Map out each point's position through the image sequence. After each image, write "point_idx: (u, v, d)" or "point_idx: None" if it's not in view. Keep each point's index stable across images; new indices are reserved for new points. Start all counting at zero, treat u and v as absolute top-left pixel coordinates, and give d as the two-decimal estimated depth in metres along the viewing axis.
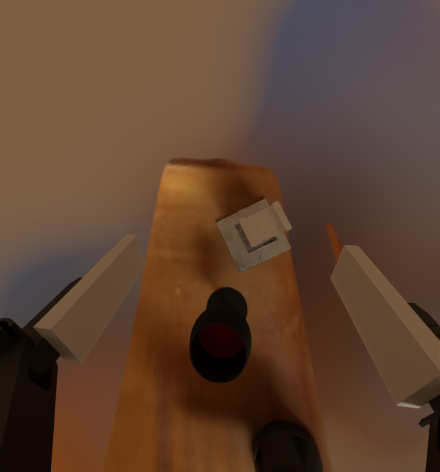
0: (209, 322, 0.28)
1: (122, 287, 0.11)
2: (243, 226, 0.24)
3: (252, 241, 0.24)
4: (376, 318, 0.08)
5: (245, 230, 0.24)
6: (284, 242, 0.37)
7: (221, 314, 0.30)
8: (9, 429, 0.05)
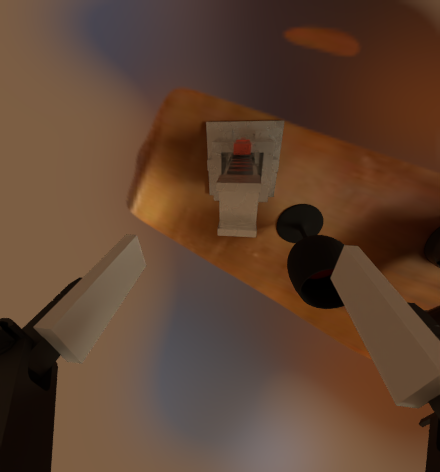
0: (300, 282, 0.28)
1: (122, 287, 0.11)
2: (227, 234, 0.19)
3: (249, 233, 0.19)
4: (376, 318, 0.08)
5: (233, 234, 0.19)
6: (272, 144, 0.27)
7: (300, 266, 0.28)
8: (9, 429, 0.05)
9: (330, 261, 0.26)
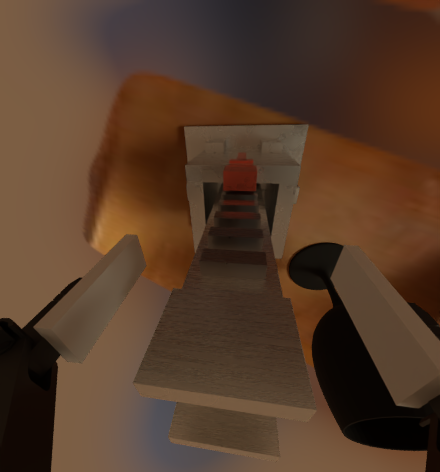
0: (345, 418, 0.15)
1: (122, 287, 0.11)
2: (197, 446, 0.07)
3: (259, 456, 0.07)
4: (376, 318, 0.08)
5: (213, 449, 0.07)
6: (295, 171, 0.15)
7: (344, 384, 0.16)
8: (9, 429, 0.05)
9: None
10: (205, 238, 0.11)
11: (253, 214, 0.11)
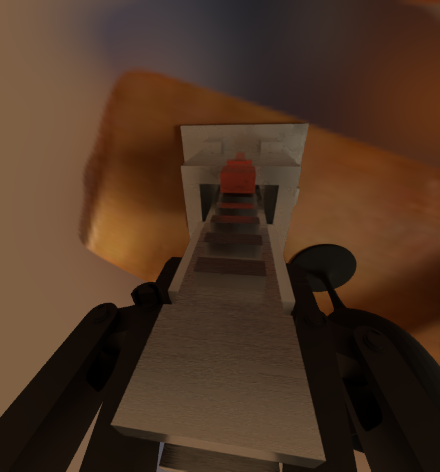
0: None
1: None
2: None
3: None
4: None
5: None
6: (296, 172, 0.14)
7: None
8: None
9: None
10: (201, 244, 0.10)
11: (252, 218, 0.11)
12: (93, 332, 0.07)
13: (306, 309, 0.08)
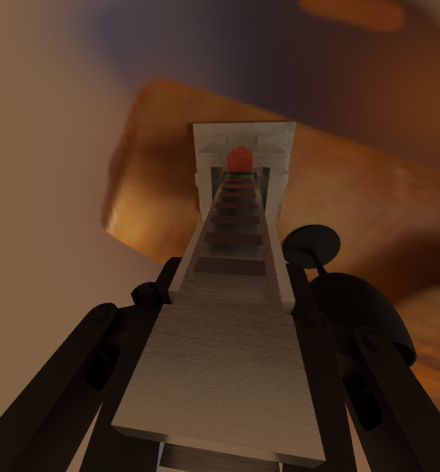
0: None
1: None
2: None
3: None
4: None
5: None
6: (283, 157, 0.19)
7: None
8: None
9: None
10: (201, 244, 0.10)
11: (251, 218, 0.11)
12: (93, 332, 0.07)
13: (306, 309, 0.08)
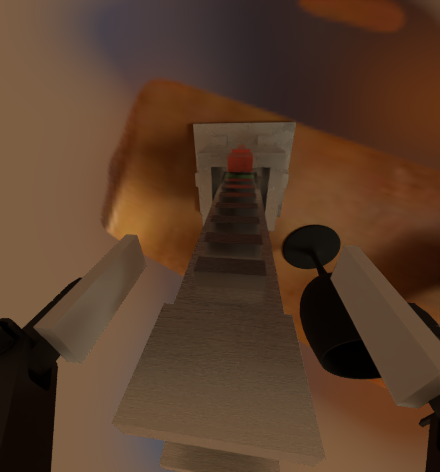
0: (321, 349, 0.20)
1: (122, 287, 0.11)
2: None
3: None
4: (376, 318, 0.08)
5: None
6: (283, 157, 0.19)
7: (321, 324, 0.20)
8: (9, 429, 0.05)
9: None
10: (201, 244, 0.10)
11: (252, 218, 0.11)
12: None
13: None
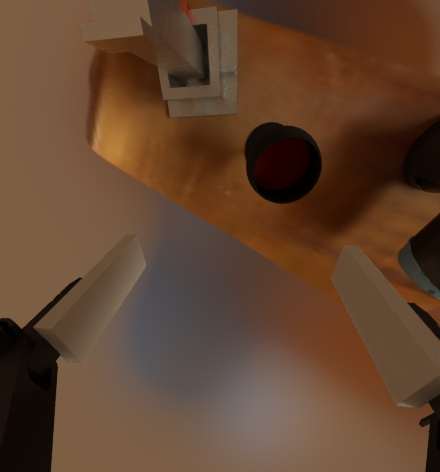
0: (253, 168, 0.25)
1: (122, 287, 0.11)
2: (98, 35, 0.12)
3: (131, 26, 0.11)
4: (376, 318, 0.08)
5: (106, 34, 0.12)
6: (214, 11, 0.24)
7: (253, 151, 0.26)
8: (9, 429, 0.05)
9: (281, 134, 0.23)
10: None
11: None
12: None
13: None
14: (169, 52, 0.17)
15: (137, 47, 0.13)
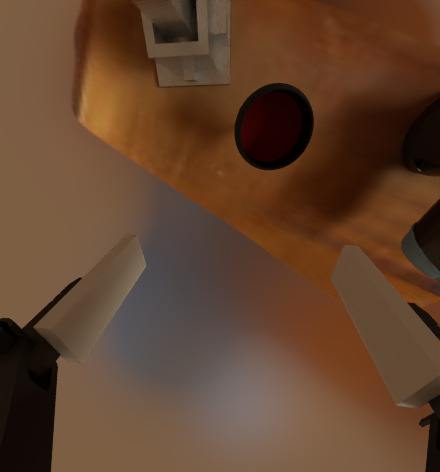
0: (239, 127, 0.23)
1: (122, 287, 0.11)
2: None
3: None
4: (376, 318, 0.08)
5: None
6: None
7: (241, 110, 0.24)
8: (9, 429, 0.05)
9: (270, 87, 0.21)
10: None
11: None
12: None
13: None
14: None
15: None
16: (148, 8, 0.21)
